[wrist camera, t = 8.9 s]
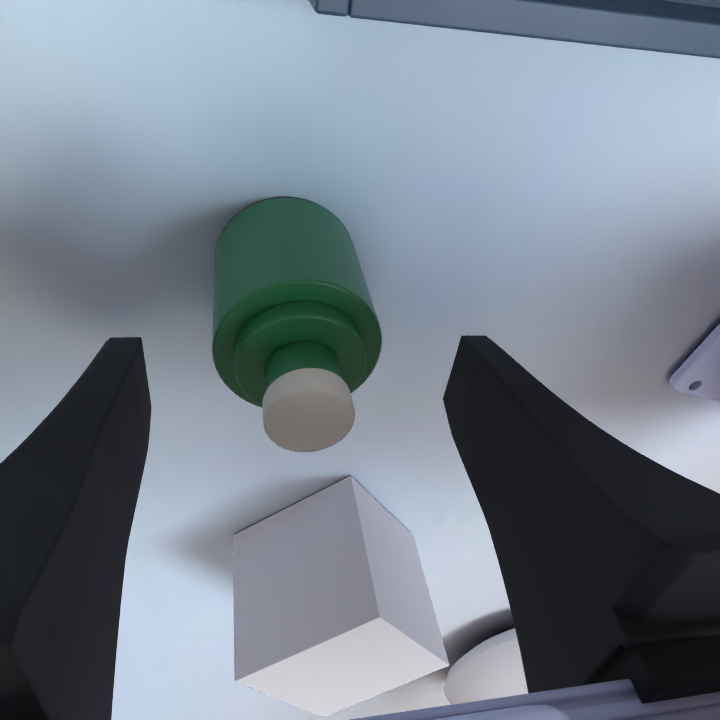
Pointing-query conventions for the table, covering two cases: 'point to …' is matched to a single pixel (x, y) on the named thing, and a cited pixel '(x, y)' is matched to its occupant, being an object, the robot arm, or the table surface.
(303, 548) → the white cube
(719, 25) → the tray
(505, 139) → the table surface
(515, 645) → the flower in vase
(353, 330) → the bottle
